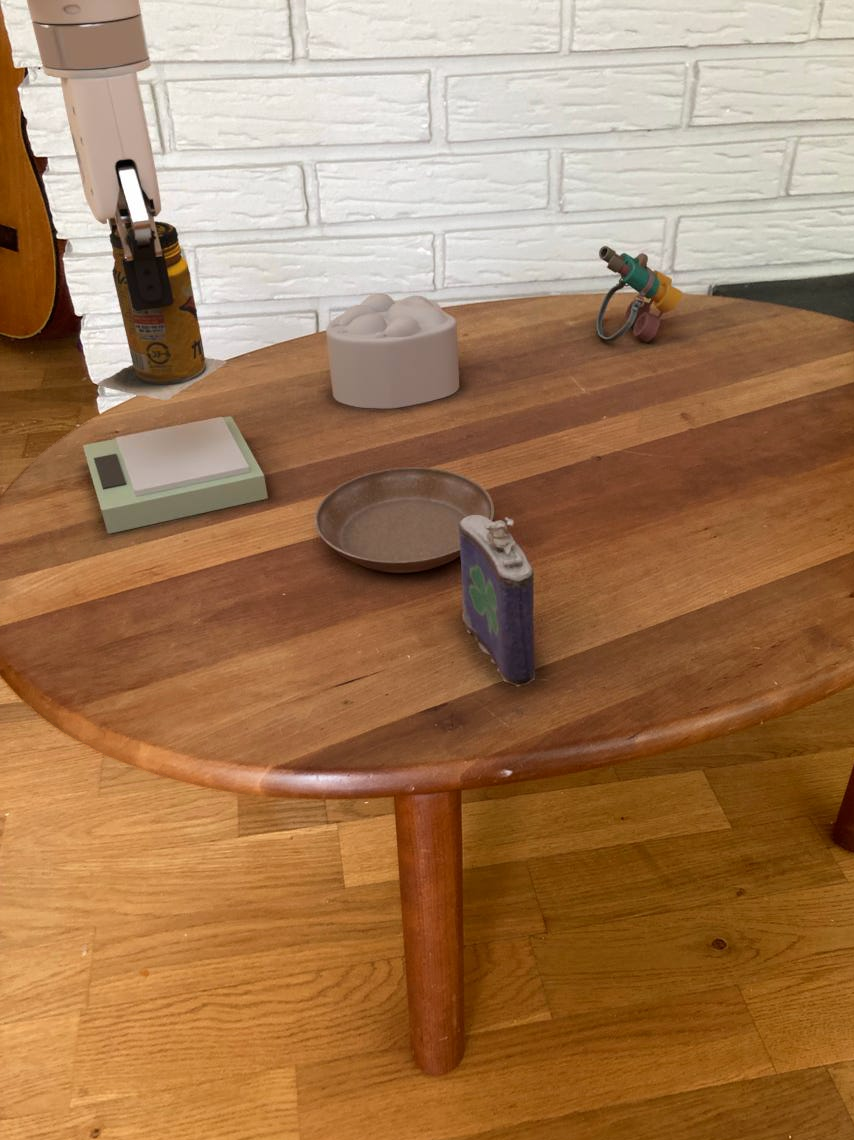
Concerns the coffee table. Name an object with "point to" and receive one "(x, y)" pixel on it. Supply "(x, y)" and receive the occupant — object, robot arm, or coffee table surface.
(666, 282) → the multicolored plastic assembly
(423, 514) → the saucer
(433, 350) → the lumpy-topped squat cylinder
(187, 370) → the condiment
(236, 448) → the scale
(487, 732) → the coffee table surface
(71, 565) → the coffee table surface
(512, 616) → the flask
